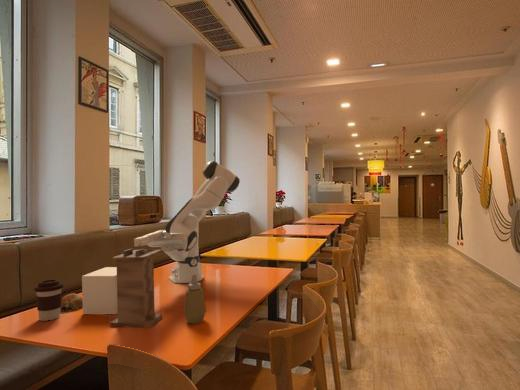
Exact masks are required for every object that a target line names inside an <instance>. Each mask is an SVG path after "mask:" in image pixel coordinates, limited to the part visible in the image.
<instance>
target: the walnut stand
mask: <svg viewBox="0 0 520 390" xmlns="http://www.w3.org/2000/svg"><path fill="white" fill-rule="evenodd" d="M122 252H123V253H122V254H118V255H115V256H112V261H116V267H117V308H118V313H117V317H116V318H115V319H113V320H112V321H110V322H109V325H110V326H132V327H131V328H153V327H154V326H155V325H154V324H155V323H156V322H157V323H158V322H159V321H160V320H161V319H162V318H163V315H162V313H156V312H155V277H154V276H155V273H154V270H155V268H154V265H155V264H154V256H156V255H159V254H161V253H163V250H162V249H145V248H140V249H133V248H128V249H125V250H123V251H122ZM157 323H156V324H157Z"/></svg>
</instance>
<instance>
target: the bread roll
mask: <svg viewBox="0 0 520 390" xmlns="http://www.w3.org/2000/svg"><path fill="white" fill-rule="evenodd" d="M80 307H81V308H83V302H82V296H81V295H79V294H77V293H74V292H73V293H68V294H65V295H64V296H62V300H61V307H60V312H70V311H75V310H78V309H77V308H79V309H80ZM74 309H75V310H74ZM69 310H70V311H69Z"/></svg>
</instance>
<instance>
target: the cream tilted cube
mask: <svg viewBox="0 0 520 390" xmlns="http://www.w3.org/2000/svg"><path fill="white" fill-rule="evenodd" d="M81 288H82V289H81V292H82V296H81V297H82V302H83V306H82V315H83V314H116V313H117V314H118V308H117V266H114V267H113V266H105V267H103V268H100V269H97V270H95V271H92V272H88V273H86V274H84V275H82V276H81ZM117 314H116V315H117Z"/></svg>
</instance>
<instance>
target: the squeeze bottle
mask: <svg viewBox="0 0 520 390" xmlns="http://www.w3.org/2000/svg"><path fill="white" fill-rule="evenodd" d="M187 284H188V287H187V290H186V292H185V299H184V300H185V301H184V312H183V313H184V316H185V319H186V321H187V323H188V324H190V325H193V324H194V325H195V324H200V323H202V322H203V321H204V319H205V315H206V312H207V311H206V303H205V302H206V301H205V295H204V294H205V293H204V290H203V288H202V287H201V283H200V282H199V281H198V282H197V278H196V274H193V275H192V280H191V283H187Z"/></svg>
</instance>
